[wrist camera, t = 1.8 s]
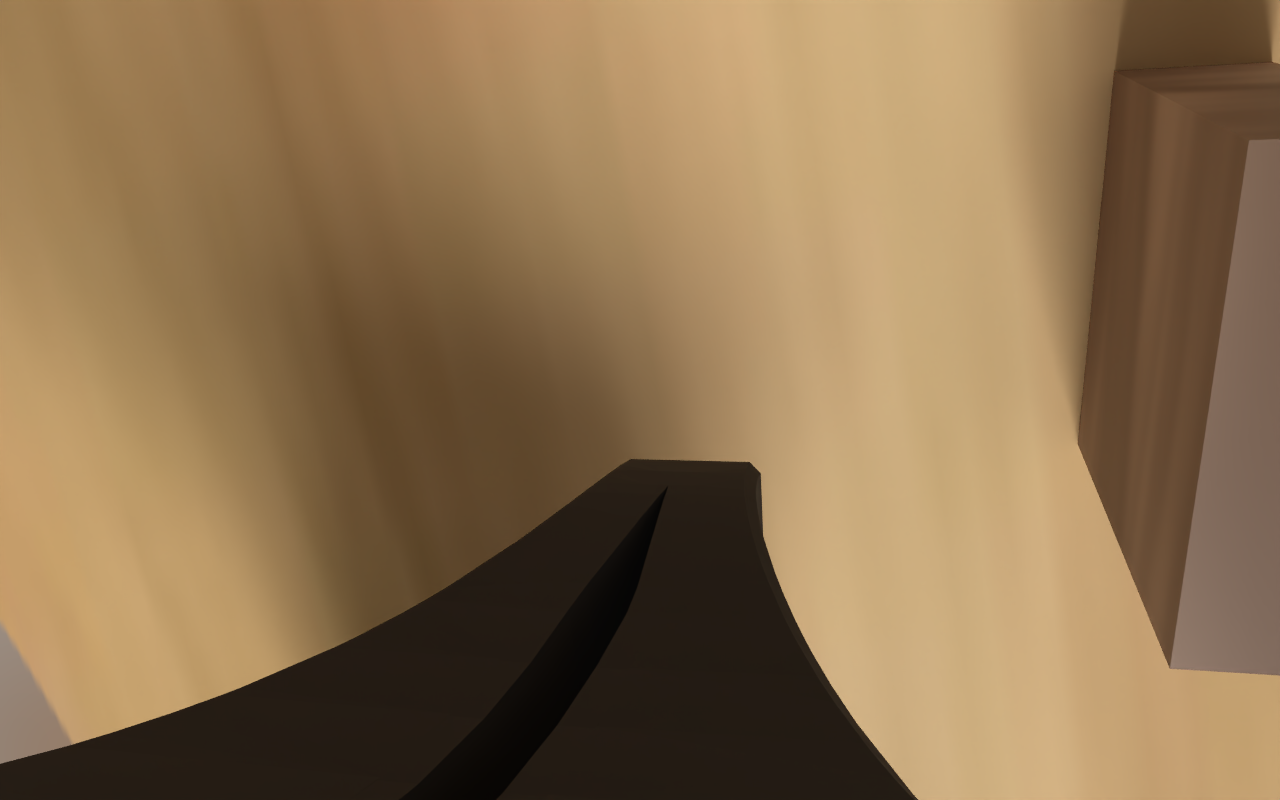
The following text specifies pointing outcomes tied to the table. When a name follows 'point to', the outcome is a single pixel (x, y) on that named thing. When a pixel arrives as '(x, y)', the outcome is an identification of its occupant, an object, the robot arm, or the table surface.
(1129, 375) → the slab
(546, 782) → the robot arm
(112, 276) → the table surface
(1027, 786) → the table surface
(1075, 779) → the table surface
